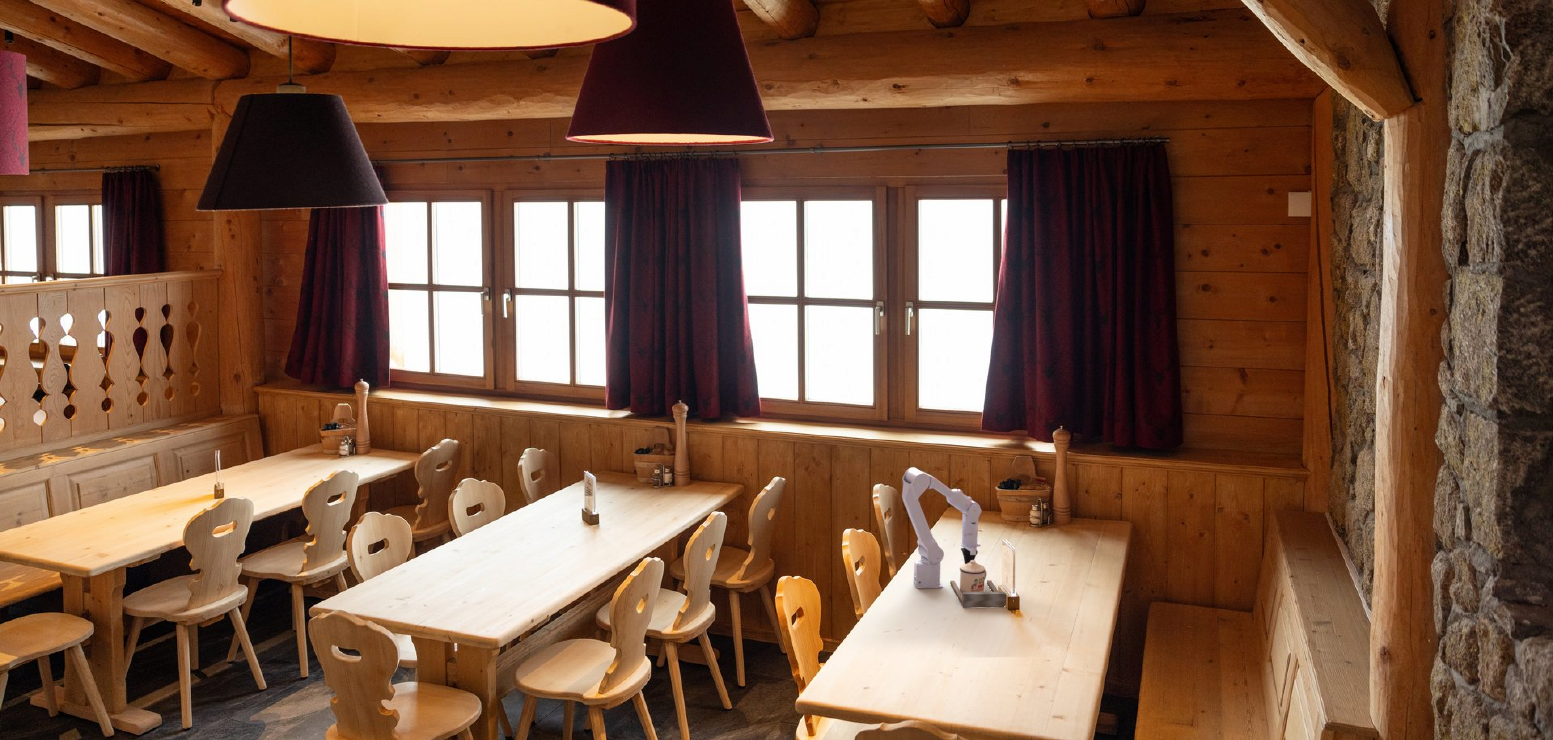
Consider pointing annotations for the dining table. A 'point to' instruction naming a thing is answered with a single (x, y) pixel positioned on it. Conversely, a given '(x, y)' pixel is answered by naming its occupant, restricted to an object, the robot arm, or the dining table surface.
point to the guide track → (980, 597)
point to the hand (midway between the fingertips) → (968, 567)
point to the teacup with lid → (972, 577)
